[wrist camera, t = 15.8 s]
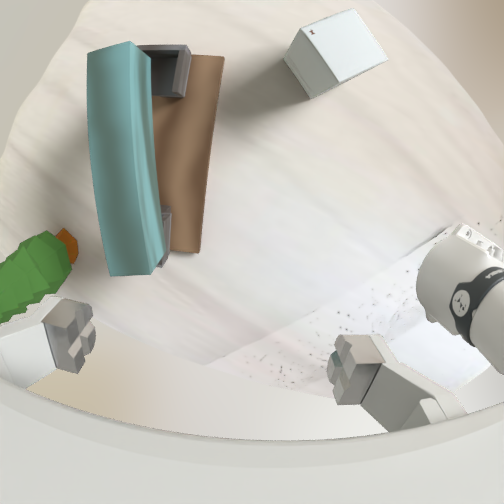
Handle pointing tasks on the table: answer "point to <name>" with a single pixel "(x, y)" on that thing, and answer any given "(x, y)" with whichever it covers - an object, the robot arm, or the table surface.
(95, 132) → the teal rail
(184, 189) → the bracket stand
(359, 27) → the supplement box
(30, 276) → the decorative tree
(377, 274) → the table surface
